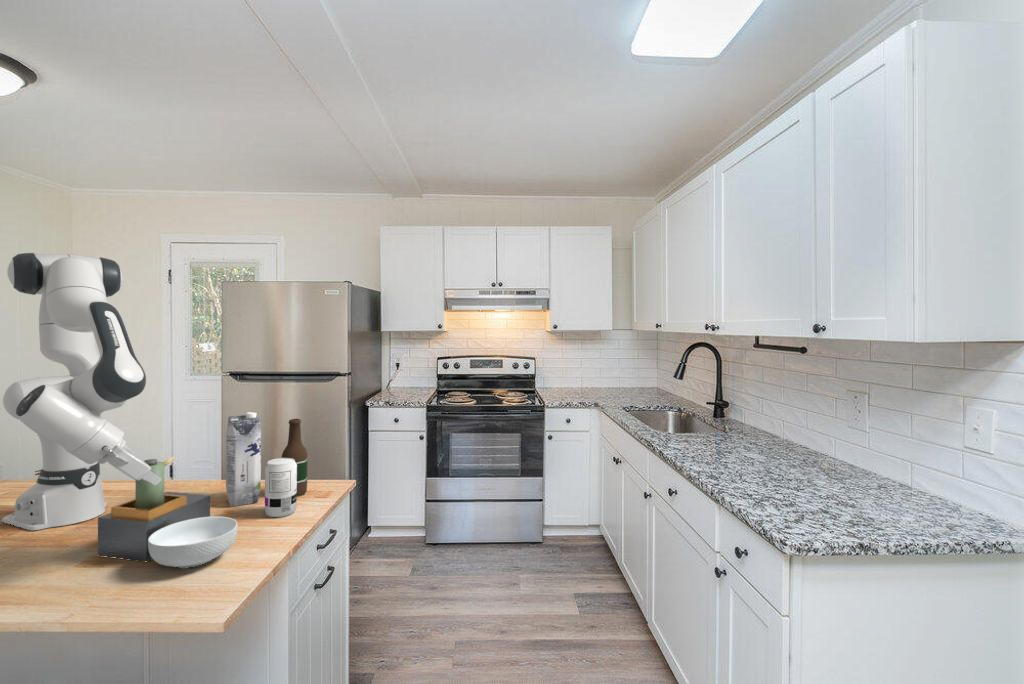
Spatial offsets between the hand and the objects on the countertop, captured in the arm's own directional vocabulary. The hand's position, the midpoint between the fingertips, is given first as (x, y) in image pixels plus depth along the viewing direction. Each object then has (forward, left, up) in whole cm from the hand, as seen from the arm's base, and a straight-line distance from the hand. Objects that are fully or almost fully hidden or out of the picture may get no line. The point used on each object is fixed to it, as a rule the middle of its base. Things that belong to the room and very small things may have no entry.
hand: (153, 477), depth 113 cm
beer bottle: (+10, +40, -17) cm, 45 cm away
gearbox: (-3, +2, -17) cm, 17 cm away
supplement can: (+16, +25, -17) cm, 34 cm away
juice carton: (-1, +31, -17) cm, 36 cm away
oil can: (0, 0, -8) cm, 8 cm away
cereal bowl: (+15, -3, -17) cm, 23 cm away
